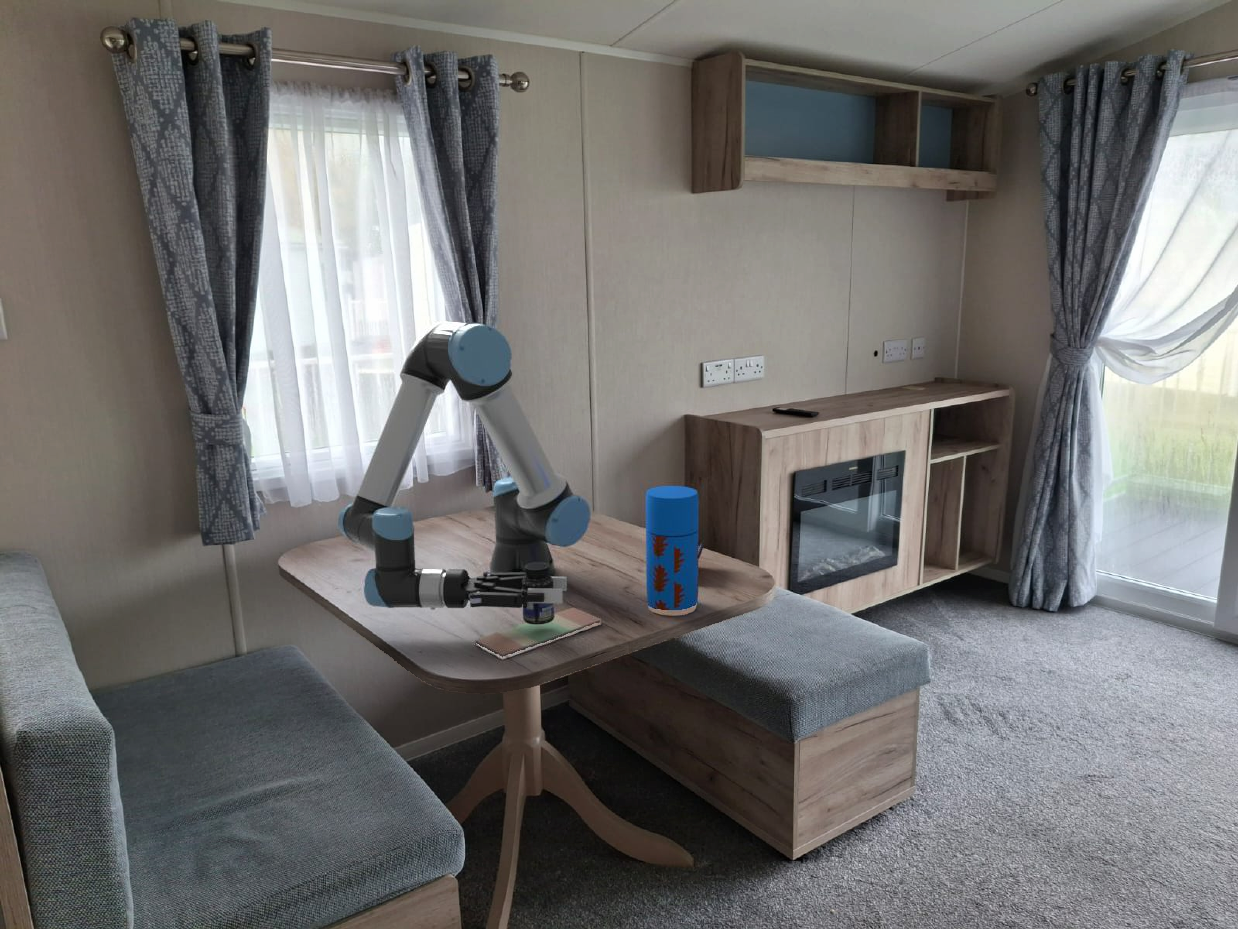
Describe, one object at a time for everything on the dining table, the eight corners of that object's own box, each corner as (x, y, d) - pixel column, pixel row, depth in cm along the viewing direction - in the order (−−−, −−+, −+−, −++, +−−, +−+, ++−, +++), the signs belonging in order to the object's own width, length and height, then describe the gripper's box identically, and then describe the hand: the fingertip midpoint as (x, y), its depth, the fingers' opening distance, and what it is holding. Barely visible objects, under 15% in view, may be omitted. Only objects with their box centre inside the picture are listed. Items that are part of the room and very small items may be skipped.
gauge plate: (475, 645, 172) (475, 639, 172) (573, 612, 187) (573, 607, 187) (502, 660, 165) (502, 654, 165) (601, 624, 181) (601, 619, 181)
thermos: (667, 594, 197) (666, 483, 192) (707, 605, 190) (708, 490, 185) (636, 609, 189) (634, 493, 184) (677, 621, 182) (677, 501, 177)
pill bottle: (555, 613, 179) (553, 560, 176) (553, 625, 173) (552, 570, 170) (524, 614, 178) (522, 561, 176) (521, 626, 173) (519, 571, 170)
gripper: (458, 589, 185) (570, 591, 184) (434, 625, 167) (558, 627, 165) (456, 555, 184) (569, 556, 182) (432, 587, 165) (557, 588, 164)
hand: (564, 589), depth 174 cm, fingers closed on pill bottle, 6 cm apart
